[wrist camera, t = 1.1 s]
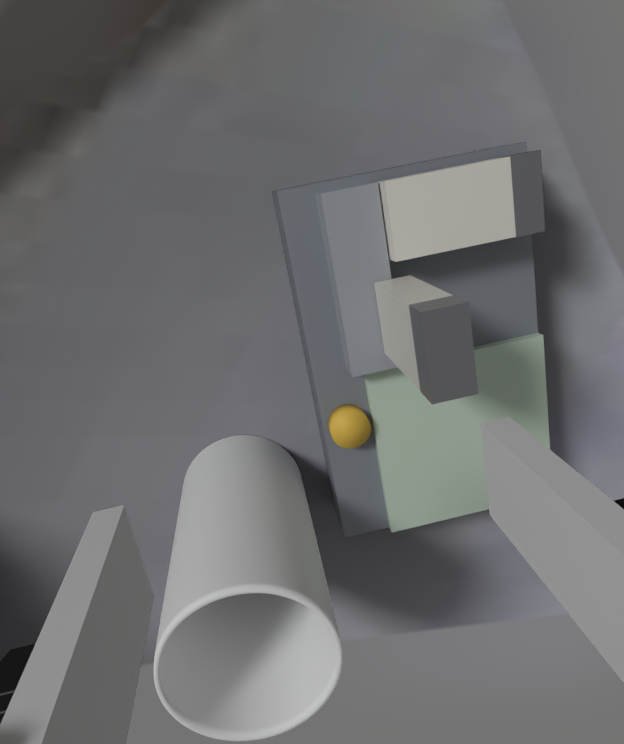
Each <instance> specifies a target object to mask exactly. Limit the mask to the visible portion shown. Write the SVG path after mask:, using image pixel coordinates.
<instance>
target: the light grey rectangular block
mask: <svg viewBox="0 0 624 744" xmlns="http://www.w3.org/2000/svg"><path fill="white" fill-rule="evenodd" d="M374 286H375V293H376V299H377V306H378V312H379V319H380V326H381V332H382V339H383V345H384V352H385V354H386V355H387V356H388V357H389V358H390V360H391V361H392V362H393V363H394V364H395V365H396V366H397V367H398V368H399V369H400V370H401V371H402V372H403V373H404V374H405V375H406V376H407V377H408V379H409V380H410V381H411V382H412V383H413V384H414V385H415V386H416V387H417V388H418V389H419V390H420V392H421V393H422V394H423V395H424V396H425V397H426V398H427V400H428V401H429V402H430V403H431V404H437V403H441V402H445V401H450V400H454V399H459V398H463V397H467V396H472V395H476V394H478V386H477V376H476V366H475V356H474V346H473V336H472V326H471V316H470V307H469V301H466V300H464V299H462V298H460V297H458V296H456V295H452V294H450V293H447V292H445V291H443V290H441V289H439V288H437V287H434V286H432V285H430V284H428V283H426V282H424V281H422V280H419V279H417V278H415V277H413V276H411V275H409V276H404V277H399V278H394V279H390V280H385V281H380V282H375V283H374Z"/></svg>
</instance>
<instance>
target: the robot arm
mask: <svg viewBox="0 0 624 744" xmlns="http://www.w3.org/2000/svg"><path fill="white" fill-rule="evenodd" d="M481 432H482V442H483V452H484V462H485V472H486V482H487V492H488V502H489V512H490V516H491V517H492V518H493V520H494V521H495V522H496V523H497V525H498V526H499V527H500V528H501V530H502V531H503V532H504V533H505V535H506V536H507V537H508V538H509V540H510V541H511V542H512V543H513V545H514V546H515V547H516V548H517V550H518V551H519V552H520V553H521V555H522V556H523V557H524V558H525V560H526V561H527V562H528V563H529V565H530V566H531V567H532V568H533V570H534V571H535V572H536V573H537V575H538V576H539V577H540V578H541V580H542V581H543V582H544V583H545V585H546V586H547V587H548V588H549V590H550V591H551V592H552V593H553V595H554V596H555V597H556V598H557V600H558V601H559V602H560V603H561V605H562V606H563V607H564V608H565V610H566V611H567V612H568V613H569V615H570V616H571V617H572V618H573V620H574V621H575V622H576V623H577V625H578V626H579V627H580V628H581V630H582V631H583V632H584V633H585V635H586V636H587V637H588V638H589V640H590V641H591V642H592V643H593V645H594V646H595V647H596V648H597V650H598V651H599V652H600V653H601V655H602V656H603V657H604V658H605V660H606V661H607V662H608V663H609V665H610V666H611V667H612V668H613V670H614V671H615V672H616V673H617V675H618V676H619V677H620V678H621V680H622V681H623V682H624V498H623V499H619V500H615V501H613V500H612V499H610V498H609V497H608V496H607V495H605V494H604V493H603V492H602V491H601V490H599V489H598V488H597V487H596V486H594V485H593V484H592V483H591V482H589V481H588V480H587V479H586V478H584V477H583V476H582V475H581V474H579V473H578V472H577V471H576V470H575V469H573V468H572V467H571V466H570V465H568V464H567V463H566V462H565V461H563V460H562V459H561V458H560V457H558V456H557V455H556V454H555V453H553V452H552V451H551V450H550V449H549V448H547V447H546V446H545V445H544V444H542V443H541V442H540V441H539V440H537V439H536V438H535V437H534V436H532V435H531V434H530V433H529V432H527V431H526V430H525V429H524V428H523V427H521V426H520V425H519V424H518V423H516V422H515V421H514V420H513V419H511V418H510V417H505V418H501V419H497V420H492V421H488V422H484V423H481ZM153 600H154V594H153V591H152V588H151V585H150V582H149V579H148V576H147V573H146V570H145V567H144V564H143V561H142V558H141V555H140V552H139V549H138V546H137V543H136V540H135V536H134V533H133V530H132V527H131V524H130V521H129V518H128V515H127V512H126V509H125V506H124V505H123V506H119V507H114V508H110V509H106V510H101V511H97V512H93V513H92V516H91V518H90V520H89V523H88V525H87V527H86V529H85V532H84V534H83V536H82V539H81V541H80V543H79V545H78V548H77V550H76V552H75V555H74V557H73V559H72V561H71V564H70V566H69V568H68V571H67V573H66V575H65V577H64V580H63V582H62V584H61V587H60V589H59V591H58V593H57V596H56V598H55V600H54V603H53V605H52V607H51V609H50V612H49V614H48V616H47V619H46V621H45V623H44V625H43V628H42V630H41V632H40V635H39V637H38V639H37V641H36V644H32V645H28V646H24V647H20V648H16V649H12V650H10V651H9V652H8V654H7V655H6V656H5V657H4V658H3V659H2V660H1V661H0V744H126V739H127V734H128V728H129V723H130V719H131V714H132V708H133V703H134V698H135V693H136V688H137V683H138V677H139V672H140V667H141V662H142V657H143V652H144V647H145V641H146V636H147V631H148V626H149V621H150V616H151V611H152V605H153Z"/></svg>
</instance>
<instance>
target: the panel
mask: <svg viewBox="0 0 624 744" xmlns="http://www.w3.org/2000/svg"><path fill="white" fill-rule="evenodd" d="M272 194H273V199H274V204H275V209H276V214H277V219H278V224H279V229H280V234H281V239H282V244H283V249H284V254H285V259H286V264H287V269H288V274H289V279H290V284H291V289H292V294H293V299H294V304H295V309H296V314H297V319H298V324H299V329H300V334H301V339H302V344H303V349H304V354H305V359H306V364H307V370H308V375H309V380H310V385H311V390H312V395H313V400H314V405H315V410H316V415H317V420H318V425H319V430H320V435H321V440H322V445H323V450H324V455H325V460H326V465H327V470H328V475H329V480H330V485H331V490H332V495H333V500H334V505H335V509H336V512H337V515H338V518H339V521H340V524H341V527H342V530H343V534H344V537H345V538H348V537H353V536H357V535H361V534H365V533H369V532H373V531H378V530H382V529H386V528H390V530H391V532H392V533H393V532H397V531H401V530H405V529H409V528H414V527H418V526H422V525H426V524H430V523H434V522H438V521H443V520H447V519H451V518H455V517H459V516H463V515H467V514H472V513H476V512H480V511H484V510H488V509H489V502H488V492H487V482H486V472H485V462H484V452H483V442H482V432H481V423H484V422H488V421H492V420H497V419H501V418H505V417H510V418H511V419H513V420H514V421H515V422H516V423H518V424H519V425H520V426H521V427H523V428H524V429H525V430H526V431H527V432H529V433H530V434H531V435H532V436H534V437H535V438H536V439H537V440H539V441H540V442H541V443H542V444H544V445H545V446H546V447H547V448H549V449H550V438H549V421H548V405H547V388H546V371H545V355H544V338H543V335H542V334H540V333H538V320H537V304H536V288H535V273H534V257H533V241H532V234H534V233H539V232H544V231H545V217H544V200H543V182H542V164H541V150H537V151H530V152H527V146H526V142H523V143H517V144H512V145H506V146H500V147H495V148H489V149H484V150H479V151H474V152H469V153H464V154H459V155H454V156H449V157H444V158H439V159H434V160H429V161H424V162H418V163H413V164H408V165H403V166H398V167H393V168H388V169H383V170H378V171H373V172H368V173H363V174H358V175H353V176H348V177H342V178H337V179H332V180H327V181H322V182H317V183H312V184H307V185H302V186H297V187H292V188H287V189H282V190H277V191H272ZM409 275H411V276H413V277H415V278H417V279H419V280H422V281H424V282H426V283H428V284H430V285H432V286H434V287H437V288H439V289H441V290H443V291H445V292H447V293H450V294H452V295H456V296H458V297H460V298H462V299H464V300H466V301H469V307H470V316H471V326H472V336H473V346H474V356H475V366H476V376H477V386H478V394H476V395H472V396H467V397H463V398H459V399H454V400H450V401H445V402H441V403H437V404H431V403H430V402H429V401H428V400H427V398H426V397H425V396H424V395H423V394H422V393H421V392H420V390H419V389H418V388H417V387H416V386H415V385H414V384H413V383H412V382H411V381H410V380H409V379H408V377H407V376H406V375H405V374H404V373H403V372H402V371H401V370H400V369H399V368H398V367H397V366H396V365H395V364H394V363H393V362H392V361H391V360H390V358H389V357H388V356H387V355H386V354H385V352H384V345H383V339H382V332H381V326H380V319H379V312H378V306H377V299H376V293H375V286H374V283H375V282H380V281H385V280H390V279H394V278H399V277H404V276H409Z"/></svg>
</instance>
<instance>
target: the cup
mask: <svg viewBox="0 0 624 744" xmlns="http://www.w3.org/2000/svg"><path fill="white" fill-rule="evenodd" d="M341 667H342V647H341V640H340V635H339V631H338V627H337V623H336V619H335V614H334V610H333V606H332V602H331V598H330V593H329V589H328V585H327V581H326V577H325V573H324V569H323V564H322V560H321V556H320V552H319V548H318V544H317V540H316V535H315V531H314V527H313V523H312V519H311V515H310V511H309V506H308V502H307V498H306V494H305V490H304V486H303V481H302V477H301V474H300V470H299V468H298V466H297V464H296V462H295V460H294V459H293V458H292V456H291V455H290V454H289V453H288V452H287V451H286V450H285V449H284V448H282V447H281V446H280V445H278V444H277V443H275V442H273V441H271V440H268V439H266V438H262V437H258V436H252V435H238V436H232V437H227V438H224V439H221V440H219V441H216V442H214V443H212V444H211V445H209V446H208V447H206V448H205V449H204V450H202V451H201V452H200V453H199V454H198V455H197V456H196V458H195V459H194V460H193V461H192V463H191V465H190V466H189V468H188V470H187V473H186V476H185V479H184V484H183V490H182V496H181V502H180V508H179V514H178V520H177V525H176V531H175V537H174V543H173V549H172V555H171V561H170V567H169V572H168V578H167V584H166V590H165V596H164V602H163V608H162V614H161V620H160V626H159V632H158V638H157V644H156V650H155V656H154V682H155V687H156V690H157V694H158V696H159V698H160V700H161V702H162V704H163V705H164V707H165V708H166V709H167V711H168V712H169V713H170V714H171V715H172V716H173V717H174V718H175V719H176V720H177V721H178V722H180V723H181V724H182V725H184V726H185V727H187V728H189V729H190V730H192V731H194V732H197V733H199V734H201V735H204V736H207V737H210V738H215V739H220V740H226V741H252V740H259V739H264V738H268V737H272V736H275V735H278V734H281V733H284V732H286V731H288V730H290V729H292V728H294V727H296V726H298V725H299V724H301V723H303V722H304V721H306V720H307V719H309V718H310V717H311V716H312V715H314V714H315V713H316V712H317V711H318V710H319V709H320V708H321V707H322V706H323V705H324V703H325V702H326V701H327V700H328V698H329V697H330V695H331V694H332V692H333V690H334V689H335V687H336V684H337V682H338V679H339V676H340V673H341Z"/></svg>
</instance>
